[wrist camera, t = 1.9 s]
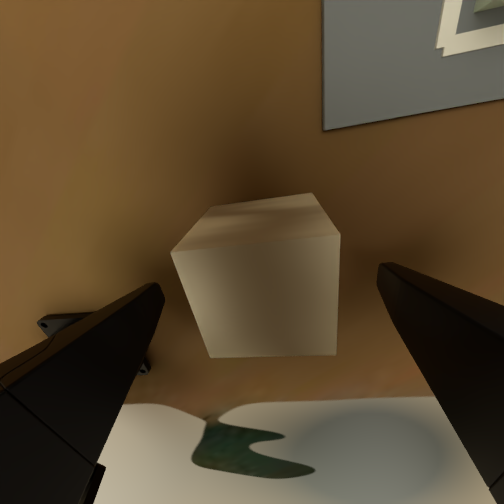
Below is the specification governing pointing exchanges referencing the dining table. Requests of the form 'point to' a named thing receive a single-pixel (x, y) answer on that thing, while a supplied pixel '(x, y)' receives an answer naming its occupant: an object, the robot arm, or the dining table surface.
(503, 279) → the dining table surface
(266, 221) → the birch cube
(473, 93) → the slate mat
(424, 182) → the dining table surface
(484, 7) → the sage block
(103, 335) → the robot arm
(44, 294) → the dining table surface
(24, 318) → the dining table surface
